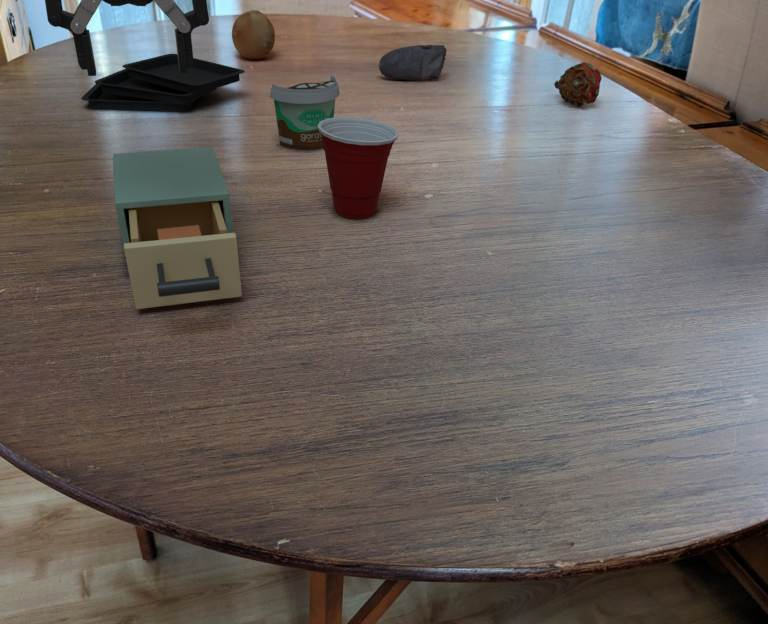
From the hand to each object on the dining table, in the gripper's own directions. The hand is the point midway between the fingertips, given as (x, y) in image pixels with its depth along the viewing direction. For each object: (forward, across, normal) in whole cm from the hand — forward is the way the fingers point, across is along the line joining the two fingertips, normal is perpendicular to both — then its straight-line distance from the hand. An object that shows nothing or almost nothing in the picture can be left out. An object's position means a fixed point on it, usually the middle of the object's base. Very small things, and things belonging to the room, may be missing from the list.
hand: (138, 72), depth 71 cm
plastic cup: (+23, -27, -14) cm, 38 cm away
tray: (+24, -4, -73) cm, 77 cm away
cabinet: (+23, -2, -10) cm, 26 cm away
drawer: (+22, -2, +2) cm, 23 cm away
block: (+21, -2, +2) cm, 22 cm away
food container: (+23, -26, -41) cm, 54 cm away
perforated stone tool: (+23, -56, -77) cm, 98 cm away
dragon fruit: (+23, -84, -56) cm, 103 cm away
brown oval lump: (+24, -25, -99) cm, 105 cm away
